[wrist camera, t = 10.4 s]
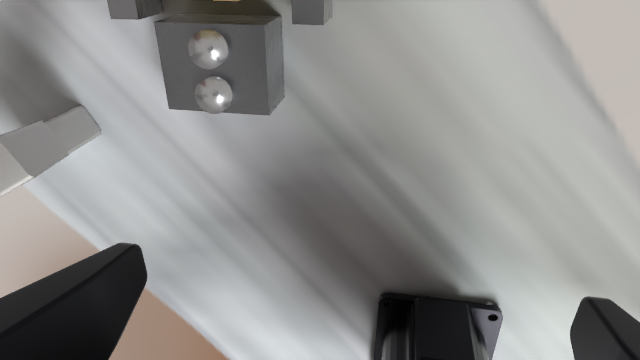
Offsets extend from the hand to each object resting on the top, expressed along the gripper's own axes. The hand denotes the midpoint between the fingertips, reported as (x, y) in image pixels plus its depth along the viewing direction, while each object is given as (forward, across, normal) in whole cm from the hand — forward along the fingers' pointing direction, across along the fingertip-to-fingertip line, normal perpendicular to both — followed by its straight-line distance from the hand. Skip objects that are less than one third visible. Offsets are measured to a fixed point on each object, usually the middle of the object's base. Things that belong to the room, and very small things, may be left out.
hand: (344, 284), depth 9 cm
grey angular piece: (+12, +15, +2) cm, 19 cm away
